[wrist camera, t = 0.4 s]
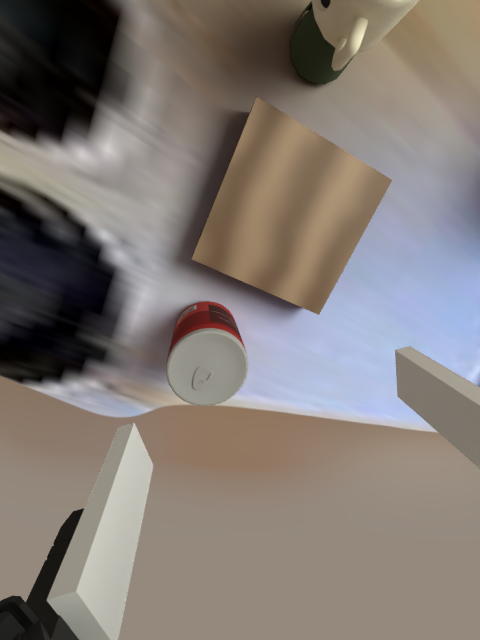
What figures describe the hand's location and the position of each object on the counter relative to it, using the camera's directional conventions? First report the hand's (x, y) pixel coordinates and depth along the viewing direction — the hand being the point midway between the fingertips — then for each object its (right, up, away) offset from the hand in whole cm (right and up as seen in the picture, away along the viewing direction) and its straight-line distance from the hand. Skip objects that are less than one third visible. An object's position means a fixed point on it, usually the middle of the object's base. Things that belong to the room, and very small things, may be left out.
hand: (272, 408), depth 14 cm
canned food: (-6, +3, +23) cm, 24 cm away
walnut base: (+3, +16, +20) cm, 26 cm away
